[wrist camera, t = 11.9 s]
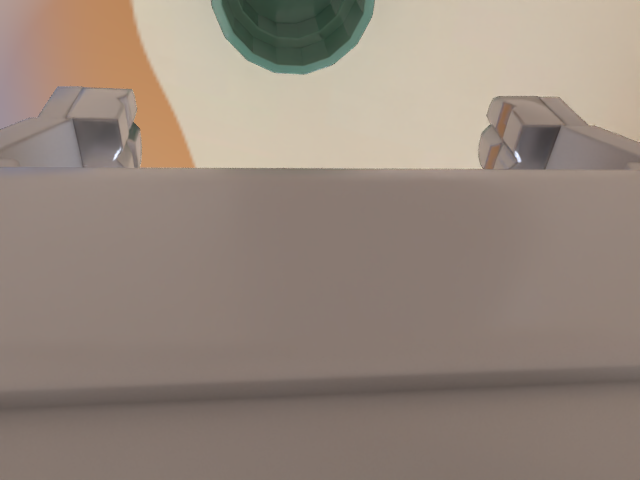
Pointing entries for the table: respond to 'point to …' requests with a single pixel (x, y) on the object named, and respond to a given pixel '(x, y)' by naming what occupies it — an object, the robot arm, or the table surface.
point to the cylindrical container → (293, 31)
